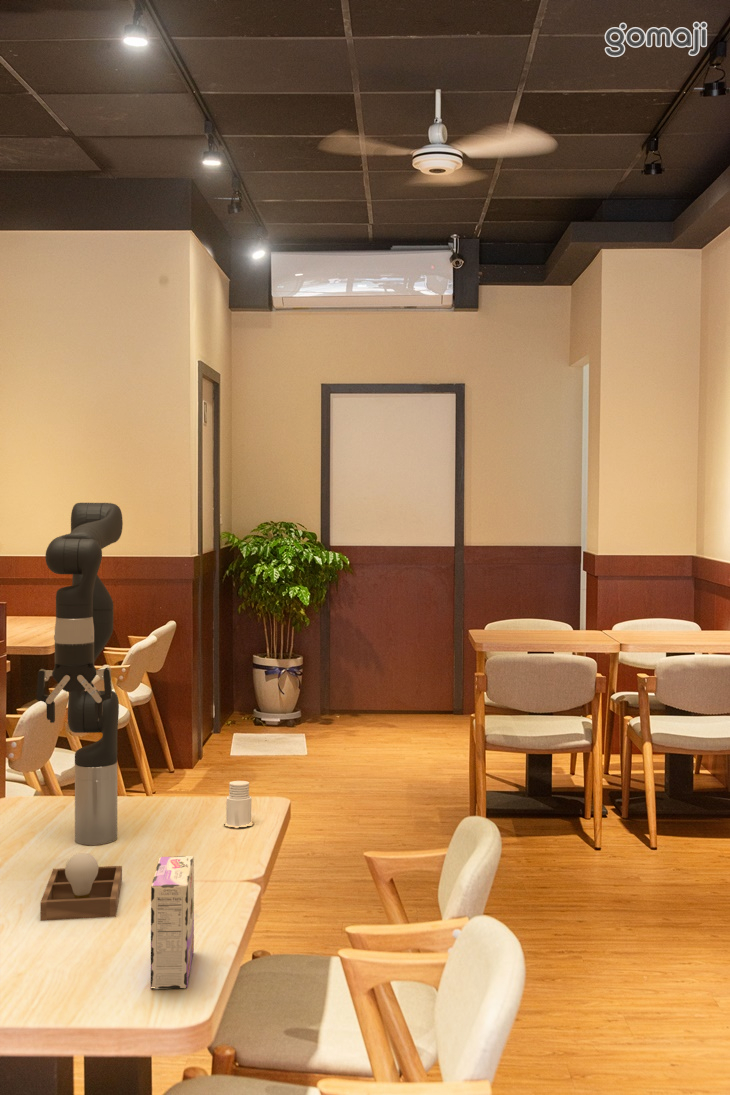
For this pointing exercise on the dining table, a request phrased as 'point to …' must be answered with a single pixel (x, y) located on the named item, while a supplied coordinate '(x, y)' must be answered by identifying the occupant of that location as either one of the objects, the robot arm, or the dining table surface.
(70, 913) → the box
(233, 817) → the downlight
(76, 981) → the dining table surface
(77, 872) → the light bulb
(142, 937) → the dining table surface
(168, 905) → the candy box
